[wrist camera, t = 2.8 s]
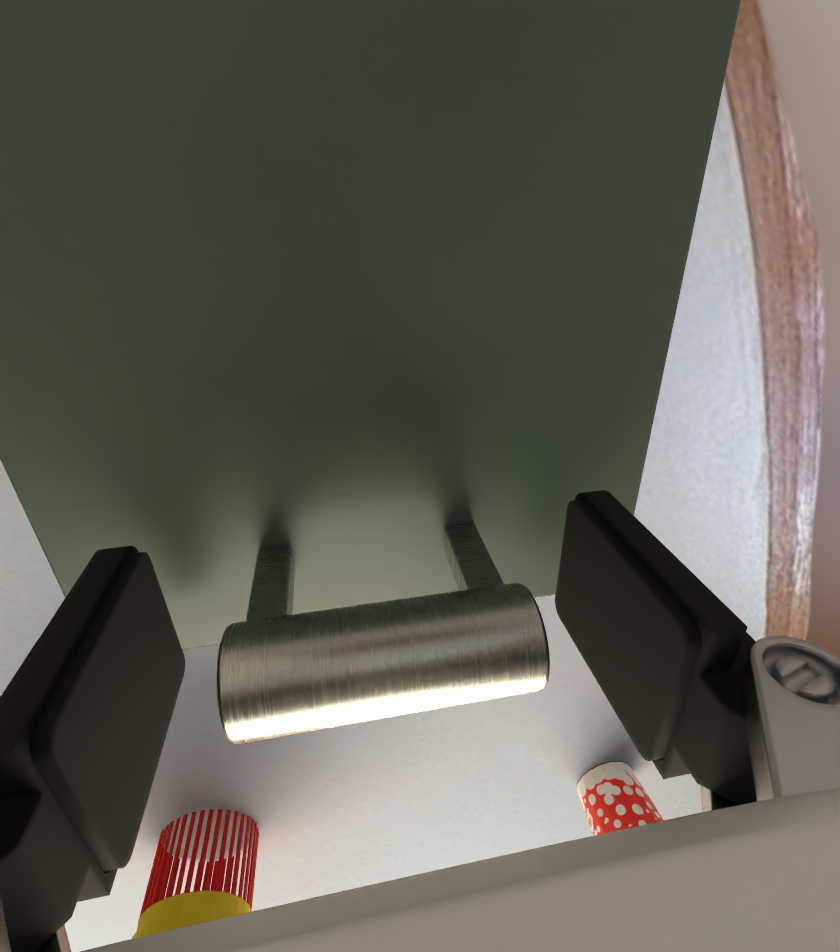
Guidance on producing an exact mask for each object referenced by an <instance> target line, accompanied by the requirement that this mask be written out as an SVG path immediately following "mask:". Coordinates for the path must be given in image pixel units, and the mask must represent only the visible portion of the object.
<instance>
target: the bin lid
mask: <svg viewBox="0 0 840 952" xmlns="http://www.w3.org/2000/svg"><path fill="white" fill-rule="evenodd" d="M739 5H740V0H0V459H1V462H2V464H3V466H4V468H5V470H6V472H7V474H8V476H9V479H10V481H11V483H12V485H13V487H14V489H15V491H16V493H17V496H18V498H19V500H20V502H21V504H22V506H23V508H24V510H25V513H26V515H27V517H28V519H29V521H30V523H31V525H32V527H33V530H34V532H35V534H36V536H37V538H38V540H39V542H40V544H41V547H42V549H43V551H44V553H45V555H46V557H47V559H48V561H49V564H50V566H51V568H52V570H53V572H54V574H55V576H56V579H57V581H58V583H59V585H60V587H61V589H62V591H63V593H64V596H65V598H66V597H67V595H68V593H69V592H70V590H71V589H72V587H73V586H74V584H75V583H76V581H77V580H78V578H79V577H80V575H81V573H82V572H83V570H84V569H85V567H86V566H87V564H88V563H89V561H90V560H91V558H92V557H93V555H94V554H95V552H96V551H97V550H100V549H107V548H116V547H124V546H134V547H136V548H137V549H138V551H139V553H140V552H146V553H147V554H148V555H149V557H150V559H151V562H152V565H153V567H154V570H155V573H156V576H157V579H158V582H159V585H160V587H161V590H162V593H163V596H164V599H165V602H166V605H167V608H168V610H169V613H170V616H171V619H172V622H173V625H174V628H175V630H176V633H177V636H178V639H179V642H180V645H181V648H182V650H183V649H190V648H197V647H204V646H210V645H217V644H220V648H219V654H218V662H217V700H218V709H219V715H220V720H221V724H222V727H223V731H224V733H225V736H226V738H227V739H228V741H229V742H231V743H234V744H241V743H246V742H252V741H258V740H264V739H269V738H275V737H281V736H286V735H292V734H298V733H303V732H309V731H315V730H320V729H326V728H332V727H338V726H343V725H349V724H355V723H360V722H366V721H372V720H377V719H383V718H389V717H395V716H400V715H406V714H412V713H417V712H423V711H429V710H434V709H440V708H446V707H452V706H457V705H463V704H469V703H474V702H480V701H486V700H491V699H497V698H503V697H508V696H514V695H520V694H526V693H531V692H537V691H540V690H542V689H543V688H544V687H545V686H546V684H547V682H548V678H549V668H550V661H549V647H548V641H547V635H546V631H545V627H544V623H543V619H542V616H541V613H540V611H539V608H538V606H537V604H536V601H535V599H534V598H536V597H543V596H549V595H556V588H557V581H558V573H559V566H560V558H561V551H562V543H563V535H564V528H565V520H566V513H567V506H568V503H569V502H570V501H573V500H575V497H576V495H577V494H579V493H582V492H591V491H599V490H607V491H608V492H610V493H611V494H612V495H613V496H614V497H615V498H616V499H617V500H618V501H619V502H620V503H621V504H622V505H623V506H624V507H625V508H626V509H627V510H628V511H629V512H630V513H631V514H632V515H633V516H634V511H635V506H636V501H637V496H638V492H639V487H640V482H641V477H642V472H643V468H644V463H645V458H646V453H647V448H648V443H649V439H650V434H651V429H652V424H653V419H654V415H655V410H656V405H657V400H658V395H659V390H660V386H661V381H662V376H663V371H664V366H665V362H666V357H667V352H668V347H669V342H670V337H671V333H672V328H673V323H674V318H675V313H676V309H677V304H678V299H679V294H680V289H681V284H682V280H683V275H684V270H685V265H686V260H687V256H688V251H689V246H690V241H691V236H692V231H693V227H694V222H695V217H696V212H697V207H698V203H699V198H700V193H701V188H702V183H703V178H704V174H705V169H706V164H707V159H708V154H709V150H710V145H711V140H712V135H713V130H714V125H715V121H716V116H717V111H718V106H719V101H720V97H721V92H722V87H723V82H724V77H725V72H726V68H727V63H728V58H729V53H730V48H731V44H732V39H733V34H734V29H735V24H736V19H737V15H738V10H739Z"/></svg>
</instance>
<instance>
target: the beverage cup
mask: <svg viewBox="0 0 840 952" xmlns="http://www.w3.org/2000/svg"><path fill="white" fill-rule="evenodd" d="M577 792H578V795H579V797H580V800H581V802H582V805H583V808H584V810H585V813H586V816H587V818H588V821H589V824H590V826H591V829H592V832H593V834H594V836H596V835H600V834H605V833H610V832H614V831H619V830H623V829H628V828H633V827H637V826H642V825H647V824H651V823H656V822H660V821H664V820H663V818H662V817H661V815H660V814H659V812H658V810H657V809H656V807H655V806H654V804H653V803H652V801H651V799H650V798H649V796H648V795H647V793H646V791H645V790H644V788H643V787H642V785H641V783H640V782H639V780H638V779H637V777H636V776H635V774H634V772H633V771H632V769H631V768H630V766H629V765H628V764H625V763H623V762H610V763H606V764H602V765H599V766H597V767H595V768H594V769H592V770H590V771H588V772H587V773H586V774H585V775H584V776H583V777H582V778H581V779H580V781H579V783H578V784H577Z"/></svg>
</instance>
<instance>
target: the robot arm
mask: <svg viewBox="0 0 840 952" xmlns="http://www.w3.org/2000/svg"><path fill="white" fill-rule="evenodd" d="M555 605H556V610H557V613H558V615H559V617H560V619H561V621H562V623H563V624H564V626H565V628H566V629H567V631H568V633H569V634H570V636H571V638H572V639H573V641H574V643H575V645H576V646H577V648H578V650H579V651H580V653H581V655H582V656H583V658H584V660H585V662H586V663H587V665H588V667H589V668H590V670H591V672H592V673H593V675H594V677H595V678H596V680H597V682H598V684H599V685H600V687H601V689H602V690H603V692H604V694H605V695H606V697H607V699H608V701H609V702H610V704H611V706H612V707H613V709H614V711H615V712H616V714H617V716H618V718H619V719H620V721H621V723H622V724H623V726H624V728H625V729H626V731H627V733H628V734H629V736H630V738H631V740H632V741H633V743H634V745H635V746H636V748H637V750H638V751H639V753H640V754H641V756H642V757H643V758H644V759H645V760H647V761H651V760H652V761H653V763H654V764H655V766H656V768H657V769H658V771H659V773H660V774H661V776H662V778H663V779H666V778H671V777H675V776H680V775H685V774H690V773H691V774H692V776H693V777H694V779H695V780H696V782H697V783H698V784H699V785H701V795H702V813H697V814H693V815H688V816H684V817H679V818H674V819H670V820H665V821H660V822H656V823H651V824H647V825H642V826H637V827H633V828H628V829H623V830H619V831H614V832H610V833H605V834H600V835H596V836H591V837H586V838H582V839H577V840H573V841H568V842H563V843H559V844H554V845H549V846H545V847H540V848H536V849H531V850H527V851H522V852H518V853H513V854H509V855H504V856H500V857H495V858H490V859H486V860H481V861H477V862H472V863H468V864H463V865H459V866H454V867H450V868H445V869H441V870H436V871H432V872H427V873H423V874H418V875H414V876H409V877H405V878H400V879H396V880H391V881H387V882H382V883H378V884H373V885H369V886H364V887H360V888H355V889H351V890H346V891H342V892H338V893H333V894H329V895H324V896H320V897H315V898H311V899H306V900H302V901H298V902H293V903H289V904H285V905H280V906H276V907H271V908H267V909H263V910H258V911H254V912H249V913H245V914H241V915H236V916H232V917H227V918H223V919H219V920H214V921H210V922H205V923H201V924H197V925H192V926H188V927H183V928H179V929H175V930H170V931H166V932H162V933H157V934H153V935H148V936H144V937H140V938H135V939H131V940H126V941H122V942H118V943H114V944H110V945H106V946H102V947H98V948H93V949H89V950H85V951H81V952H840V658H839V657H837V656H836V655H834V654H833V653H831V652H830V651H828V650H826V649H824V648H821V647H820V646H817V645H816V644H813V643H810V642H807V641H804V640H801V639H798V638H793V637H787V636H767V637H765V638H762V639H760V640H758V641H755V640H754V639H753V638H752V637H751V636H750V635H749V634H748V633H747V632H746V630H747V626H746V625H745V624H744V623H743V622H742V621H741V620H740V619H739V618H738V617H737V616H736V615H735V614H734V613H733V612H732V611H731V610H730V609H729V608H728V607H727V606H726V605H725V604H724V603H723V602H721V601H720V600H719V599H718V598H717V597H716V596H715V595H714V594H713V593H712V592H711V591H710V590H709V589H708V588H707V587H706V586H705V585H704V584H703V583H702V582H701V581H700V580H699V579H698V578H697V577H696V576H695V575H694V574H693V573H692V572H691V571H690V570H689V569H688V568H687V567H686V566H685V565H684V564H683V563H681V562H680V561H679V560H678V559H677V558H676V557H675V556H674V555H673V554H672V553H671V552H670V551H669V550H668V549H667V548H666V547H665V546H664V545H663V544H662V543H661V542H660V541H659V540H658V539H657V538H656V537H655V536H654V535H653V534H652V533H651V532H650V531H649V530H648V529H647V528H646V527H645V526H644V525H643V524H641V523H640V522H639V521H638V520H637V519H636V518H635V517H634V516H633V515H632V514H631V513H630V512H629V511H628V510H627V509H626V508H625V507H624V506H623V505H622V504H621V503H620V502H619V501H618V500H617V499H616V498H615V497H614V496H613V495H612V494H611V493H610V492H608V491H607V490H599V491H591V492H582V493H579V494H577V495H576V497H575V500H573V501H570V502H569V503H568V506H567V513H566V520H565V528H564V535H563V543H562V551H561V558H560V566H559V573H558V581H557V588H556V596H555ZM184 671H185V658H184V654H183V651H182V648H181V645H180V642H179V639H178V636H177V633H176V630H175V628H174V625H173V622H172V619H171V616H170V613H169V610H168V608H167V605H166V602H165V599H164V596H163V593H162V590H161V587H160V585H159V582H158V579H157V576H156V573H155V570H154V567H153V565H152V562H151V559H150V557H149V555H148V554H147V553H146V552H140V553H139V551H138V549H137V548H136V547H134V546H124V547H116V548H107V549H100V550H97V551H96V552H95V554H94V555H93V557H92V558H91V560H90V561H89V563H88V564H87V566H86V567H85V569H84V570H83V572H82V573H81V575H80V577H79V578H78V580H77V581H76V583H75V584H74V586H73V587H72V589H71V590H70V592H69V593H68V595H67V597H66V598H65V600H64V601H63V603H62V604H61V606H60V607H59V609H58V610H57V612H56V613H55V615H54V617H53V618H52V620H51V621H50V623H49V624H48V626H47V627H46V629H45V630H44V632H43V633H42V635H41V637H40V638H39V639H38V640H37V642H36V643H35V645H34V646H33V648H32V649H31V651H30V653H29V654H28V656H27V657H26V659H25V660H24V662H23V663H22V665H21V666H20V668H19V669H18V671H17V672H16V674H15V676H14V677H13V679H12V680H11V682H10V683H9V685H8V686H7V688H6V689H5V691H4V692H3V694H2V696H1V697H0V952H71V949H70V945H69V941H68V937H67V933H66V929H65V926H64V924H65V923H66V922H67V921H68V920H69V919H70V918H71V917H72V914H73V911H74V909H75V906H76V903H77V902H78V901H83V900H88V899H93V898H97V897H102V896H107V895H110V892H111V888H112V885H113V882H114V878H115V875H116V872H117V869H118V868H123V867H125V866H126V865H127V864H128V862H129V860H130V858H131V855H132V852H133V848H134V845H135V842H136V838H137V835H138V831H139V828H140V824H141V821H142V817H143V814H144V810H145V807H146V804H147V800H148V797H149V793H150V790H151V786H152V783H153V779H154V776H155V772H156V769H157V766H158V762H159V759H160V755H161V752H162V748H163V745H164V741H165V738H166V734H167V731H168V727H169V724H170V721H171V717H172V714H173V710H174V707H175V703H176V700H177V696H178V693H179V689H180V686H181V683H182V679H183V676H184Z"/></svg>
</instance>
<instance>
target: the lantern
mask: <svg viewBox="0 0 840 952" xmlns="http://www.w3.org/2000/svg"><path fill="white" fill-rule="evenodd" d="M213 812H214V809H210V810H209V816H208V821H207V827H206V832H205V837H204V843H203V848H202V854H201V859H200V862H199V864H198V869H197V874H196V880H195V885H194V891H193V892H190V887H191V882H192V876H193V871H194V866H195V860H196V855H197V850H198V845H199V839H200V834H201V829H202V823H203V818H204V813H205V810H201V811H200V816H199V821H198V826H197V831H196V836H195V841H194V846H193V851H192V856H191V861H190V866H189V871H188V876H187V881H186V886H185V891H184V893H182V894H180V892H181V887H182V882H183V877H184V872H185V867H186V862H187V861H186V860H187V855H188V851H189V846H190V841H191V836H192V831H193V826H194V821H195V816H196V812H192V817H191V821H190V826H189V831H188V835H187V840H186V845H185V850H184V854H183V859H182V864H181V869H180V873H179V878H178V883H177V887H176V892H175V895H174V896H172V895H173V890H174V885H175V880H176V876H177V871H178V866H179V862H180V859H179V854H180V849H181V844H182V840H183V835H184V830H185V826H186V821H187V816H188V814H185V815H184V817H183V821H182V826H181V830H180V835H179V839H178V844H177V848H176V852H175V857H174V861H173V856H172V853H173V848H174V844H175V839H176V835H177V830H178V826H179V822H180V817H179V818H177V821H176V826H175V830H174V834H173V838H172V843H171V847H170V851H169V853H168V852H167V848H168V844H169V840H170V836H171V831H172V827H173V823H174V821H172V822H170V825H167V826H166V828H165V832H164V830H162V832H161V835H160V839H159V843H158V847H157V851H156V855H155V859H154V863H153V867H152V870H151V874H150V878H149V882H148V886H147V890H146V894H145V898H144V902H143V906H142V910H141V914H140V918H139V922H138V928H137V932H136V933H135V935H134V936H133V937H132V939H135V938H140V937H144V936H148V935H153V934H157V933H162V932H166V931H170V930H175V929H179V928H183V927H188V926H192V925H197V924H201V923H205V922H210V921H214V920H219V919H223V918H227V917H232V916H236V915H241V914H245V913H249V912H251V908H252V898H253V888H254V878H255V868H256V857H257V847H258V837H259V832H258V828H257V824H255V831H254V841H253V845H252V837H253V827H254V821H253V820H252V821H251V830H250V839H249V848H248V857H247V866H246V875H245V884H244V893H243V899H242V889H243V881H244V872H245V863H246V854H247V841H248V832H249V823H250V817H249V816H248V817H247V825H246V834H245V842H244V851H243V859H242V867H241V876H240V884H239V893H238V896H236V887H237V878H238V870H239V861H240V849H241V841H242V833H243V825H244V816H245V815H244V814H241V820H240V828H239V836H238V843H237V851H236V859H235V867H234V874H233V882H232V890H231V893H230V886H231V878H232V870H233V862H234V856H233V857H232V853H233V846H234V838H235V831H236V824H237V816H238V812H237V811H235V814H234V821H233V828H232V835H231V842H230V849H229V856H228V863H227V870H226V877H225V884H224V891H223V892H222V888H223V881H224V874H225V867H226V860H227V859H224V853H225V847H226V840H227V833H228V826H229V819H230V812H231V810H227V811H226V818H225V824H224V831H223V837H222V844H221V850H220V856H219V861H215V865H214V859H215V853H216V846H217V840H218V834H219V828H220V822H221V815H222V809H218V815H217V821H216V826H215V832H214V838H213V844H212V850H211V856H210V861H209V862H207V864H206V870H205V875H204V881H203V887H202V891H200V887H201V881H202V875H203V869H204V864H205V858H206V852H207V846H208V841H209V835H210V829H211V823H212V817H213ZM168 826H169V829H168ZM167 831H168V834H167ZM163 834H164V836H163ZM166 835H167V838H166ZM162 838H163V840H162ZM165 839H166V842H165ZM161 842H162V844H161ZM164 843H165V846H164ZM163 847H164V848H163ZM251 847H252V855H251ZM250 857H251V865H250ZM167 859H168V860H167ZM172 861H173V866H172V870H171V865H172ZM213 865H214V871H213ZM249 866H250V874H249ZM170 870H171V875H170V879H169V874H170ZM212 871H213V877H212ZM248 876H249V884H248ZM211 877H212V883H211ZM168 879H169V884H168V888H167V883H168ZM210 884H211V890H210ZM247 886H248V894H247ZM166 888H167V892H166ZM165 892H166V897H165ZM246 896H247V902H246ZM164 897H165V899H164Z"/></svg>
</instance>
